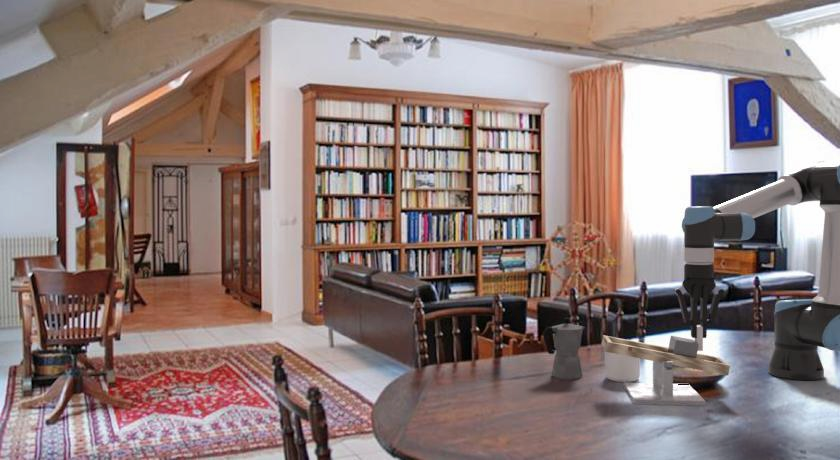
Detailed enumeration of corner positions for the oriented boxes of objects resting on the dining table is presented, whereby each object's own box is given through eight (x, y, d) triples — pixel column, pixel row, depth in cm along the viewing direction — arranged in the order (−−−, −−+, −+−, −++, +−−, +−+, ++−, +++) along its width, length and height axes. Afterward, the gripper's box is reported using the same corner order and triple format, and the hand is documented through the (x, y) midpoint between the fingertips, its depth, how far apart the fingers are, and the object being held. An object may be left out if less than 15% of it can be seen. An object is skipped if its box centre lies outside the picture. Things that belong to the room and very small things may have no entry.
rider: (689, 357, 198) (693, 339, 197) (695, 362, 192) (698, 344, 191) (667, 353, 198) (670, 335, 198) (672, 357, 192) (676, 339, 192)
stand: (688, 388, 204) (688, 349, 203) (705, 405, 186) (705, 363, 186) (623, 386, 206) (623, 348, 206) (634, 404, 188) (634, 362, 188)
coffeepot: (574, 370, 226) (574, 313, 226) (594, 376, 218) (594, 318, 217) (534, 375, 220) (534, 317, 219) (552, 382, 211) (552, 322, 211)
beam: (716, 369, 199) (718, 357, 199) (727, 378, 189) (730, 365, 188) (600, 347, 203) (603, 335, 203) (605, 354, 192) (608, 342, 192)
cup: (641, 384, 209) (641, 350, 209) (606, 382, 211) (606, 349, 211) (637, 375, 219) (637, 343, 218) (604, 374, 221) (604, 342, 220)
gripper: (719, 262, 196) (719, 347, 197) (670, 262, 198) (670, 346, 199) (728, 264, 189) (727, 353, 190) (677, 264, 190) (677, 352, 191)
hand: (698, 349), depth 194 cm, fingers closed
